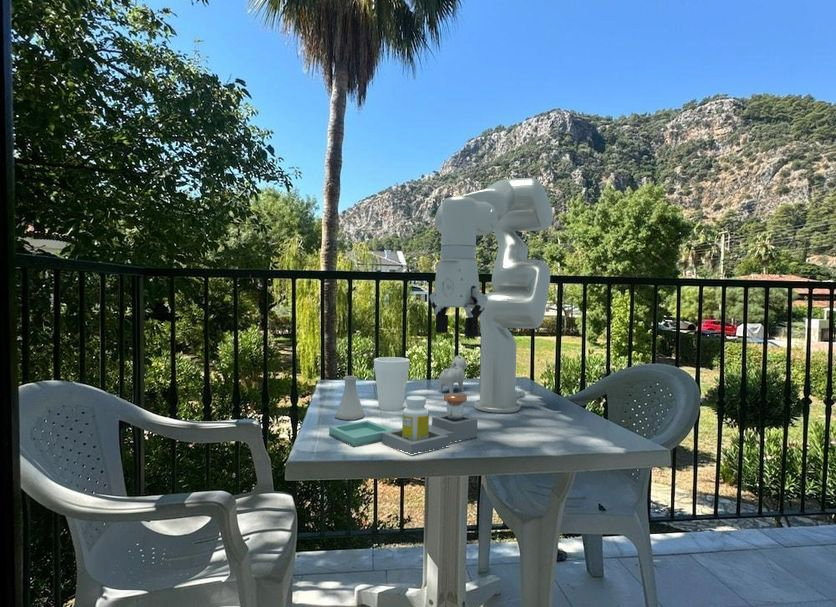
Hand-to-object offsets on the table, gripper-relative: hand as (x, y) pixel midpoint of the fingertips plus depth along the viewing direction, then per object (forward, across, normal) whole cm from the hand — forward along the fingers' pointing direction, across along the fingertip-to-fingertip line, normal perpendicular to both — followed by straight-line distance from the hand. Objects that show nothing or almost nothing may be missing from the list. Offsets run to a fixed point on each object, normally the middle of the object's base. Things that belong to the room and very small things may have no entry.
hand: (455, 334), depth 114 cm
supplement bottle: (+23, 0, -11) cm, 25 cm away
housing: (+22, 0, -6) cm, 23 cm away
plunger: (+20, 0, 0) cm, 20 cm away
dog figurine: (+22, -37, +34) cm, 55 cm away
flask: (+23, -27, -10) cm, 36 cm away
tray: (+22, -11, -17) cm, 30 cm away
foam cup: (+23, -29, +4) cm, 37 cm away
